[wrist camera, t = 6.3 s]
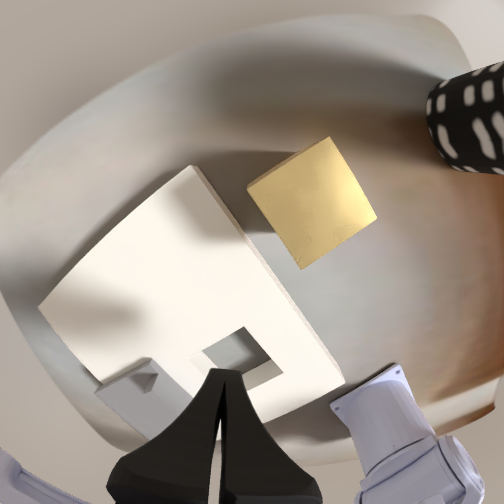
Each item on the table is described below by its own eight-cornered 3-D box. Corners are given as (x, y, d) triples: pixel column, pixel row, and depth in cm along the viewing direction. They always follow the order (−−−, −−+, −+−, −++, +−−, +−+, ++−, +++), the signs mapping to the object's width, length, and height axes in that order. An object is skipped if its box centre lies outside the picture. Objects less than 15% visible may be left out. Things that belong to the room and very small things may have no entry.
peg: (327, 201, 19) (376, 218, 11) (280, 232, 19) (301, 270, 12) (295, 152, 18) (329, 136, 10) (247, 184, 18) (246, 189, 11)
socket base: (338, 365, 22) (345, 382, 20) (186, 433, 25) (183, 450, 22) (197, 166, 18) (190, 164, 16) (52, 296, 20) (37, 307, 18)
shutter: (217, 418, 21) (214, 442, 18) (156, 438, 22) (150, 458, 19) (152, 358, 19) (141, 381, 16) (97, 388, 20) (85, 407, 17)
